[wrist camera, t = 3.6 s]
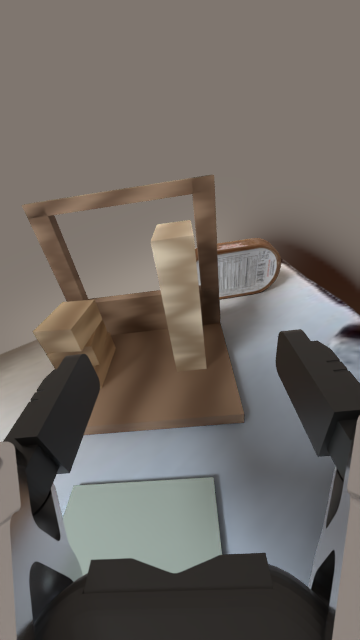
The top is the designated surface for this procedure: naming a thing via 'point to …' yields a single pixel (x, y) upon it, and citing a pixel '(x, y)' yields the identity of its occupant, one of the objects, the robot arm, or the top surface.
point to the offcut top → (69, 326)
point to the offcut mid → (85, 348)
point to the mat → (145, 522)
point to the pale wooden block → (180, 292)
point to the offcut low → (105, 359)
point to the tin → (245, 267)
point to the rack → (150, 324)
